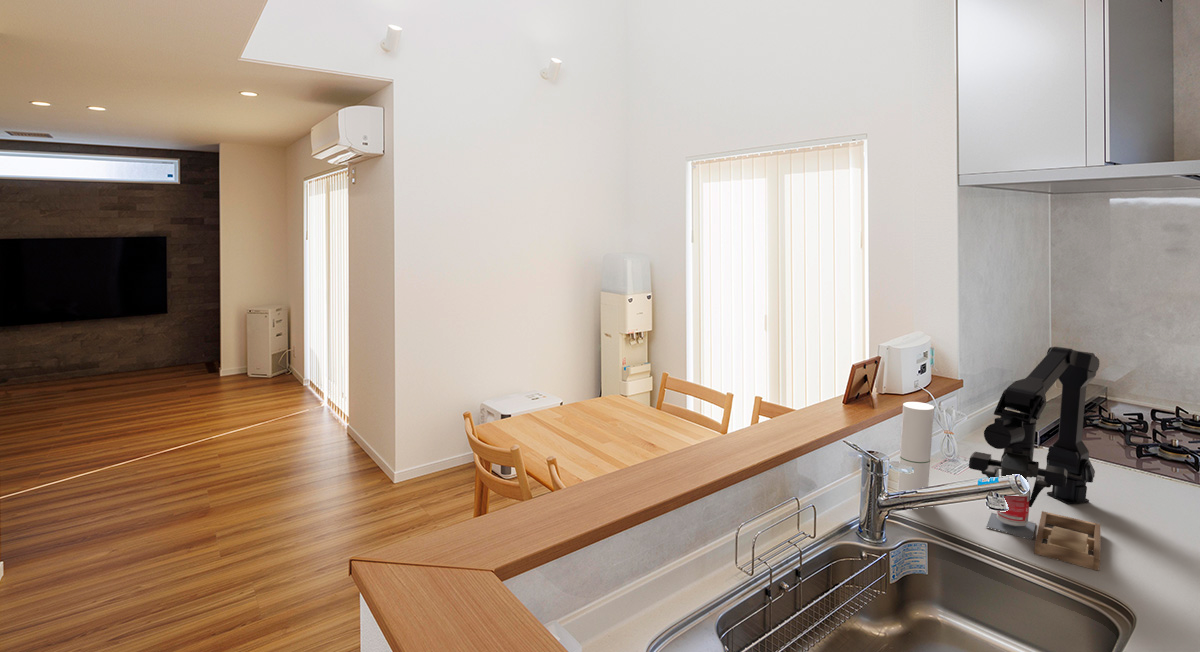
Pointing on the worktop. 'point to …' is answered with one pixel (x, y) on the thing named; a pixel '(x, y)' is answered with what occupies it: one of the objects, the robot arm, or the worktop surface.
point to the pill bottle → (1016, 510)
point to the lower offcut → (1065, 547)
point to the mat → (1012, 527)
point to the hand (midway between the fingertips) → (1013, 502)
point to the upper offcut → (1069, 539)
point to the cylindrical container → (916, 444)
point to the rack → (1067, 554)
